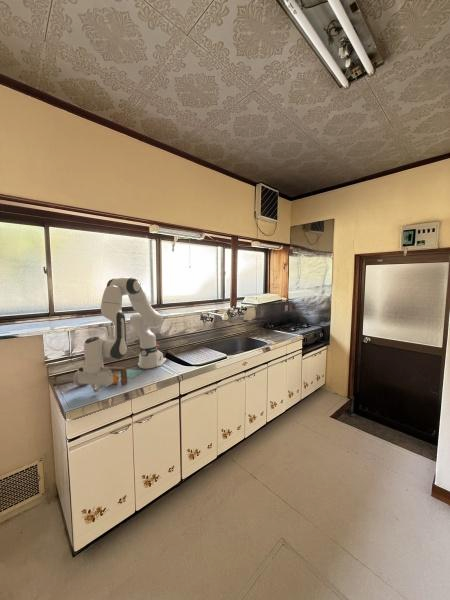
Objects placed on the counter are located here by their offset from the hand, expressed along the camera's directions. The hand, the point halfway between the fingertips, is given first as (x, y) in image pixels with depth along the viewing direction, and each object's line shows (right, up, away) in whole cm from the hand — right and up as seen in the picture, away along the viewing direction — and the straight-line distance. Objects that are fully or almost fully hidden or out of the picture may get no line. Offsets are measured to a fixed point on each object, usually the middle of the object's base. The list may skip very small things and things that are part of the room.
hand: (96, 391), depth 134 cm
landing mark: (+7, +1, +29) cm, 30 cm away
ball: (+3, +3, +13) cm, 14 cm away
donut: (-15, -1, +13) cm, 20 cm away
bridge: (+4, 0, +15) cm, 15 cm away
